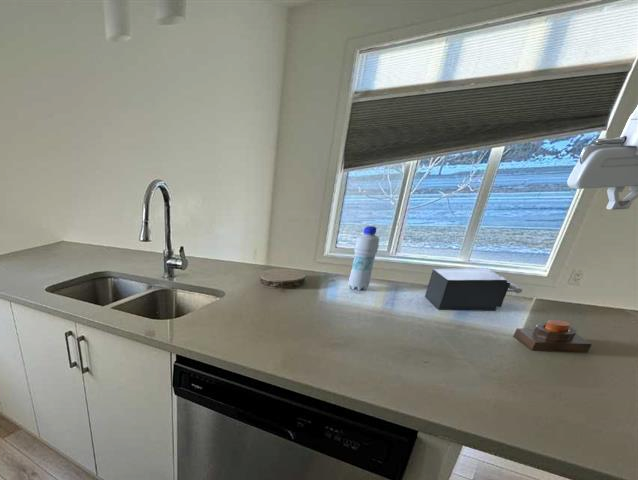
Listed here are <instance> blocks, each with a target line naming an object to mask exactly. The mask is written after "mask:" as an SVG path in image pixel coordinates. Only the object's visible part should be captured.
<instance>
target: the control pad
mask: <svg viewBox="0 0 638 480" xmlns="http://www.w3.org/2000/svg"><path fill="white" fill-rule="evenodd" d="M546 324H547V322H542V323H537V324H536V326H535V328H516V329H515V331H514V333H513V338H514V339H516V340H517V341H519V342H520V343H521V344H522V345H524V347H526V348H528V349H529V350H530V351H532V352H533V351H534V352H555V353H556V352H558V353H559V352H560V353H561V352H562V353H585V354H587V353H588V352H589V350H590V349H591V347H592V343H591V342H589V341H588V340H586V339H584V338H583V337H581V336H580V335H578V334H577V330H576V329H575V328H573V327H572V326H569V328H568V330H567V332H555V331H550V330H547V329H545V326H546Z"/></svg>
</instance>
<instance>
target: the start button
mask: <svg viewBox="0 0 638 480" xmlns="http://www.w3.org/2000/svg"><path fill="white" fill-rule="evenodd" d="M546 323H547V324H546V326H545V329H547V330H550V331H555V332H567V330H568V328H569V327H571V323H569V322H567V321H564V320H559V319H549V320H547V322H546Z"/></svg>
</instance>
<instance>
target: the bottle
mask: <svg viewBox="0 0 638 480" xmlns="http://www.w3.org/2000/svg"><path fill="white" fill-rule="evenodd" d="M376 233H377V227H376V226H375V225H374V226H372V225H368V226H365V228H364V229H363V233H362V234H361V235H359V236H358V237H357V240H356V242H355V245H354V250H353V252H354V255H353V256H354V257H353V262H352V267H351V271H350V275H349V278H348V283H347V284H348V288H349V289H352V290H353V291H355V290H356V288H357V291H361V290H363V291H365V290H367V288H368V287H369V286H370V283H371V279H372V272H373V271H372V270H373V267H374V263H375V260H376V259H375V258H376V254H377V253H378V250H379V247H380V246H379V244H380V237H379V236H378V235H376Z"/></svg>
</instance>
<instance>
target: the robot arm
mask: <svg viewBox="0 0 638 480" xmlns="http://www.w3.org/2000/svg"><path fill="white" fill-rule="evenodd" d="M566 181H567V182H566V185H567V186H568V188H570V189H577V190H582V189H583V190H584V189H601V188H603V189H604V188H607V191H606V194H607V198H608V200H609V201H608V203H607V204H606V210H609V211H615V210H628V209H630V208H631V205H632V204H633V202H634V201H635V200H636V199H637V198H638V105H637V107H636V108H635V110H634V111H633V113H631V115H630V116H629V118H628V120H627V122H626V124H625V126H624V129H623V131H622V132H621V135H620V136H617V137H610V138H609V137H608V138H597V139H594V141H592V142H589V143H588V144H586V145H585V146H584V147H583V149H582V150H581V153H580V155H579V158H578V160H577V162H576V164H575V166H574V167H573V169H572V171H571V172H570V175H569V177H568V179H567V180H566ZM626 187H629V191H630V192H629V193H628V194H627V195H626V196H625V197H624V198H623V199H620V193H623V191H624V190H625V188H626Z"/></svg>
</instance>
